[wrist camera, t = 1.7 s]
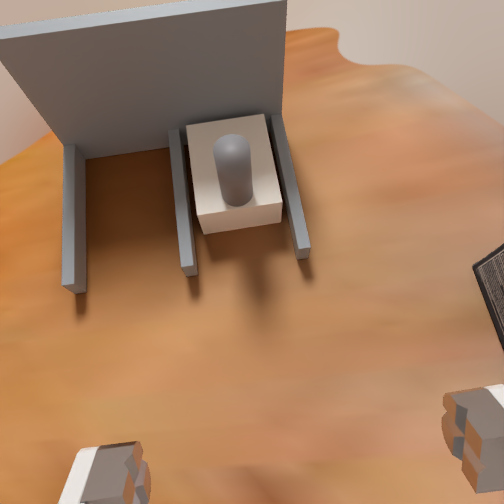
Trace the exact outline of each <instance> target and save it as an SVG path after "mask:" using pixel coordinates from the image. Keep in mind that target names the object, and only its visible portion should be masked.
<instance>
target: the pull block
mask: <svg viewBox="0 0 504 504" xmlns="http://www.w3.org/2000/svg"><path fill="white" fill-rule="evenodd" d="M186 130H187V138H188V146H189V154H190V162H191V170H192V178H193V186H194V194H195V202H196V210H197V217H198V219H199V222H200V225H201V228H202V231H203V234H210V233H217V232H223V231H229V230H236V229H242V228H248V227H255V226H261V225H267V224H274V223H280V222H281V214H282V198H281V193H280V188H279V183H278V179H277V174H276V169H275V164H274V160H273V155H272V150H271V145H270V141H269V136H268V131H267V126H266V121H265V117H264V114H259V115H252V116H245V117H239V118H232V119H226V120H219V121H212V122H206V123H199V124H192V125H186Z"/></svg>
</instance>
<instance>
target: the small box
mask: <svg viewBox="0 0 504 504" xmlns="http://www.w3.org/2000/svg"><path fill="white" fill-rule="evenodd" d="M472 267H473V270H474V272H475V275H476V278H477V281H478V283H479V286H480V288H481V291H482V294H483V296H484V299H485V301H486V304H487V306H488V309H489V312H490V315H491V317H492V320H493V322H494V325H495V328H496V330H497V333H498V335H499V338H500V341H501V343H502V346H503V349H504V244H502V245H501V246H500V247H498V248H497V249H496V250H495V251H493V252H491V253H490V254H489V255H487V256H486V257H485V258H483V259H482V260H480V261H479V262H476V263H475V264H473V266H472Z"/></svg>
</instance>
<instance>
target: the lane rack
mask: <svg viewBox="0 0 504 504" xmlns="http://www.w3.org/2000/svg"><path fill="white" fill-rule="evenodd" d="M286 15H287V0H188V1H181V2H173V3H167V4H159V5H152V6H144V7H138V8H130V9H122V10H115V11H108V12H101V13H94V14H86V15H80V16H71V17H65V18H57V19H50V20H42V21H36V22H28V23H21V24H14V25H6V26H0V61H1V62H2V64H3V65H4V66H5V68H6V69H7V70H8V72H9V73H10V74H11V76H12V77H13V78H14V80H15V81H16V82H17V84H18V85H19V86H20V88H21V89H22V90H23V92H24V93H25V94H26V96H27V97H28V99H29V100H30V101H31V102H32V104H33V105H34V107H35V108H36V109H37V111H38V112H39V113H40V115H41V116H42V117H43V118H44V120H45V121H46V123H47V124H48V125H49V127H50V128H51V129H52V131H53V132H54V133H55V135H56V136H57V137H58V139H59V140H60V141H61V143H62V144H63V145H64V153H63V224H62V286H63V287H65V288H66V289H68V290H69V291H71V292H73V293H74V294H78V293H84V292H87V283H86V167H85V159H92V158H99V157H105V156H112V155H119V154H126V153H133V152H140V151H146V150H153V149H160V148H167V147H170V157H171V168H172V178H173V189H174V199H175V209H176V220H177V230H178V241H179V251H180V261H181V268H182V270H183V271H184V273H185V275H186V277H188V276H194V275H198V270H197V261H196V252H195V243H194V234H193V225H192V216H191V207H190V198H189V189H188V180H187V171H186V162H185V153H184V145H187V144H188V138H187V130H186V125H192V124H199V123H206V122H212V121H219V120H226V119H232V118H239V117H245V116H252V115H259V114H264V117H265V121H266V126H267V131H268V133H269V132H271V137H272V142H273V146H274V151H275V156H276V161H277V166H278V171H279V176H280V181H281V186H282V190H283V195H284V200H285V205H286V210H287V215H288V220H289V225H290V230H291V234H292V239H293V244H294V249H295V254H296V259H297V260H298V259H304V258H308V256H309V252H310V249H311V245H310V241H309V236H308V232H307V227H306V223H305V218H304V214H303V209H302V204H301V200H300V195H299V191H298V186H297V182H296V177H295V173H294V168H293V164H292V159H291V155H290V150H289V146H288V141H287V136H286V132H285V127H284V123H283V118H282V94H283V74H284V55H285V35H286Z"/></svg>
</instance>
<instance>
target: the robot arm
mask: <svg viewBox="0 0 504 504" xmlns="http://www.w3.org/2000/svg"><path fill="white" fill-rule="evenodd" d="M443 406H444V408H445V409H446V411H447V412H446V413H445V414H444V415H443V417H442V431H443V436H444V439H445V441H446V444H447V446H448V448H449V450H450V451H451V453H452V455H454V456H455V457H457V458H458V459H460V460H462V471H463V473H464V475H465V476H466V478H467V480H468V481H469V483H470V485H471V486H472V488H473V489H474V491H475V493H476V494H477V493H485V492H493V491H501V490H504V385H503V384H498V385H492V386H486V387H482V388H481V387H480V388H474V389H468V390H462V391H456V392H450V393H445V395H444V397H443ZM142 454H143V449H142V446H141V444H140V442H139V441H133V442H125V443H118V444H110V445H102V446H97V447H89V448H81V450H80V451H79V452H78V453H77V455H76V458H75V460H74V463H73V465H72V468H71V471H70V473H69V476H68V479H67V481H66V484H65V486H64V489H63V492H62V494H61V497H60V500H59V502H58V504H148V503H149V499H150V492H151V477H150V471H149V467H148V464H147V462H145V461H144V460H142Z"/></svg>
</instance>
